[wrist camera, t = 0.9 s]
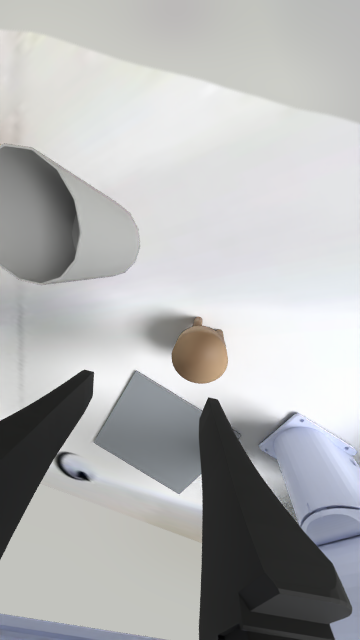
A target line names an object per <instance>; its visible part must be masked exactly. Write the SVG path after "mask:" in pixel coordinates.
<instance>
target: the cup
mask: <svg viewBox="0 0 360 640" xmlns="http://www.w3.org/2000/svg"><path fill="white" fill-rule="evenodd" d="M139 249H140V239H139V229H138V227H137V225H136V223H135V221H134V219H133V218H132V216H131V214H130V212H128V211H127V210H126V209H124V208H123V207H122V206H121V205H119V204H118V203H117V202H115V201H114V200H112V199H111V198H109V197H108V196H106V195H105V194H103V193H102V192H100V191H98V190H97V189H95V188H94V187H92V186H91V185H89V184H88V183H86V182H85V181H83V180H81V179H80V178H78V177H77V176H75V175H74V174H72V173H71V172H69V171H68V170H66V169H64V168H63V167H61V166H60V165H58V164H57V163H55V162H54V161H52V160H51V159H49V158H47V157H46V156H44V155H43V154H41V153H40V152H38V151H37V150H35V149H34V148H32V147H26V146H19V145H12V144H5V143H4V144H2V145H1V146H0V266H1V267H2V268H3V269H5V270H6V271H7V272H9V273H10V274H12V275H13V276H14V277H16V278H17V279H18V280H21V281H26V282H30V283H34V284H38V285H46V284H54V283H63V282H71V281H79V280H87V279H95V278H103V277H111V276H115V275H118V274H122V273H125V272H126V271H127V270H128V269H129V268H130V267H131V266H132V265H133V264H134V263H135V261H136V258H137V255H138V252H139Z"/></svg>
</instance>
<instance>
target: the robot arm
mask: <svg viewBox="0 0 360 640" xmlns="http://www.w3.org/2000/svg"><path fill="white" fill-rule="evenodd" d="M93 380H94V372H92V371H87V370H83V371H81V372H80V373H78V374H77V375H75V376H74V377H72V378H71V379H69V380H68V381H66V382H65V383H64V384H62V385H61V386H59V387H58V388H56V389H54V390H53V391H51V392H50V393H48V394H47V395H45V396H44V397H42V398H40V399H39V400H37V401H35V402H34V403H32V404H30V405H29V406H27V407H25V408H23V409H22V410H20V411H18V412H16V413H14V414H13V415H11V416H9V417H7V418H5V419H3V420H1V421H0V559H1V557H2V555H3V553H4V551H5V549H6V547H7V545H8V543H9V541H10V539H11V537H12V535H13V533H14V531H15V529H16V527H17V526H18V524H19V522H20V520H21V518H22V516H23V514H24V512H25V510H26V508H27V506H28V505H29V503H30V501H31V499H32V497H33V495H34V493H35V492H36V490H37V487H38V486H39V484H40V482H41V481H42V479H43V477H44V475H45V473H46V472H47V470H48V468H49V466H50V464H51V463H52V461H53V459H54V458H55V456H56V455H57V453H58V451H59V450H60V448H61V447H62V445H63V444H64V442H65V441H66V439H67V438H68V436H69V435H70V433H71V432H72V430H73V429H74V427H75V426H76V424H77V423H78V421H79V420H80V418H81V417H82V415H83V414H84V412H85V410H86V408H87V406H88V404H89V402H90V400H91V398H92V396H93ZM300 419H302V420H300ZM259 447H260V449H261V450H262V451H264V452H265V453H267V454H269V455H270V456H272V457H273V458H275V459H277V460H278V463H279V466H280V469H281V472H282V475H283V478H284V481H285V484H286V487H287V490H288V493H289V496H290V499H291V502H292V505H293V508H294V511H295V514H296V517H297V520H298V523H299V525H298V524H297V522H296V521H295V520H294V519H293V518H292V516H291V515H290V514H289V513H288V512H287V510H286V509H285V508H284V506H283V505H282V504H281V503H280V501H279V500H278V499H277V497H276V496H275V495H274V493H273V492H272V491H271V489H270V488H269V487H268V485H267V484H266V483H265V481H264V480H263V478H262V477H261V476H260V474H259V473H258V471H257V470H256V468H255V467H254V465H253V464H252V462H251V460H250V459H249V457H248V456H247V454H246V452H245V451H244V449H243V447H242V445H241V444H240V442H239V440H238V438H237V437H236V435H235V433H234V431H233V429H232V427H231V425H230V423H229V421H228V419H227V417H226V415H225V413H224V411H223V409H222V407H221V405H220V403H219V401H218V400H217V399H213V398H208V399H207V402H206V404H205V407H204V409H203V411H202V414H201V416H200V419H199V448H200V461H201V474H202V490H203V525H202V572H201V597H200V619H199V640H360V466H359V465H358V464H357V462H356V461H355V459H354V458H353V457H352V456H354V455H355V454H357V450H356V449H355V448H354V447H352V446H351V445H349V444H348V443H346V442H344V441H343V440H341V439H339V438H338V437H336V436H335V435H333V434H331V433H330V432H328V431H327V430H325V429H323V428H322V427H320V426H318V425H317V424H315V423H314V422H312V421H310V420H309V419H307V418H305V417H304V416H302V415H301V414H294V415H293V416H292V417H291V418H290V419H289V420H287V421H286V422H285V423H284V424H283V425H282V426H281V427H279V428H278V429H277V430H276V431H275V432H274V433H272V434H271V435H270V436H269V437H268V438H267V439H266V440H264V441H263V442H262V443H261V444H260V445H259ZM0 640H165V639H158V638H152V637H146V636H140V635H133V634H127V633H120V632H114V631H108V630H101V629H95V628H89V627H82V626H76V625H69V624H63V623H57V622H50V621H44V620H38V619H31V618H25V617H19V616H12V615H5V614H0Z"/></svg>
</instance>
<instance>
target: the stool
mask: <svg viewBox="0 0 360 640" xmlns="http://www.w3.org/2000/svg"><path fill="white" fill-rule="evenodd" d="M172 363H173V366H174V368H175V370H176V371H177V372H178V374H179V375H180V376H182V377H183V378H184V379H186V380H188V381H190V382H194V383H201V384H202V383H209V382H212V381H215V380H216V379H218V378H219V377H220V376H221V375H222V374H223V373H224V372H225V370H226V367H227V363H228V357H227V351H226V345H225V342H224V337H223V332H222V330H219V329H218V330H216V331H215V330H214V329H212V328H209V327H206V326H202V318H201V317H196V318H195V320H194V323H193V326H192V327H190V328H188V329H186V330H185V331H183V332H182V333H181V335H180V336H179V337H178V339H177V342H176V344H175V346H174V348H173V351H172Z"/></svg>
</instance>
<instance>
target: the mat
mask: <svg viewBox="0 0 360 640" xmlns="http://www.w3.org/2000/svg"><path fill="white" fill-rule="evenodd" d="M201 414H202V410H200V409H198V408H197V407H195V406H193V405H192V404H190V403H189V402H187V401H185V400H184V399H182V398H180V397H179V396H177V395H176V394H174V393H172V392H171V391H169V390H167V389H166V388H164V387H162V386H161V385H159V384H158V383H156V382H154V381H153V380H151V379H149V378H148V377H146V376H144V375H143V374H141V373H140V372H138V371H136V372H135V373H134V375H133V377H132V379H131V380H130V382H129V384H128V385H127V387H126V389H125V390H124V392H123V394H122V395H121V397H120V399H119V400H118V402H117V404H116V406H115V407H114V409H113V411H112V412H111V414H110V416H109V417H108V419H107V421H106V422H105V424H104V426H103V428H102V429H101V431H100V433H99V434H98V436H97V438H96V439H95V441H94V443H95V444H97V445H98V446H100V447H102V448H103V449H105V450H107V451H108V452H110V453H112V454H113V455H115V456H117V457H118V458H120V459H122V460H123V461H125V462H127V463H128V464H130V465H131V466H133V467H135V468H136V469H138V470H140V471H141V472H143V473H145V474H146V475H148V476H150V477H151V478H153V479H155V480H156V481H158V482H160V483H161V484H163V485H165V486H166V487H168V488H170V489H171V490H173V491H174V492H176V493H178V494H180V493H181V492H182V491H183V490H184V489H186V488H187V487H188V486H189V485H190V484H191V483H192V482H193V481H194V480H195V479H196V478H197V477H198V476H199V475H200V474H201V461H200V448H199V419H200V416H201ZM233 431H234V430H233ZM234 433H235V435H236V437H237V438H238V439H239V438H240V437H241V436H240V434H239V433H238V432H236V431H234Z"/></svg>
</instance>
